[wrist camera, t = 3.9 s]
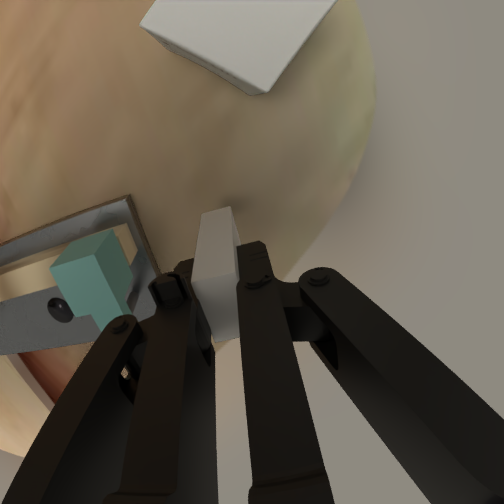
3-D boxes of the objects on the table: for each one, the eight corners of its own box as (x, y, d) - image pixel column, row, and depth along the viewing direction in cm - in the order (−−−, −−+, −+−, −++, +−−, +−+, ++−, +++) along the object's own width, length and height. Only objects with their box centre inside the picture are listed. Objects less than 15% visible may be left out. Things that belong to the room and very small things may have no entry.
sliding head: (118, 303, 22) (98, 353, 17) (82, 229, 19) (48, 268, 14) (155, 295, 22) (141, 345, 17) (121, 216, 19) (93, 254, 14)
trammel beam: (-32, 334, 23) (-54, 365, 18) (-60, 286, 20) (-87, 315, 15) (155, 292, 22) (142, 340, 17) (123, 215, 19) (97, 251, 15)
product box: (164, 49, 16) (132, 24, 9) (220, -26, 14) (221, -82, 7) (251, 98, 18) (268, 97, 11) (306, 22, 16) (350, -12, 9)
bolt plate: (-14, 351, 25) (-18, 357, 24) (-61, 273, 20) (-67, 279, 19) (179, 316, 24) (178, 325, 23) (129, 194, 20) (125, 199, 19)
